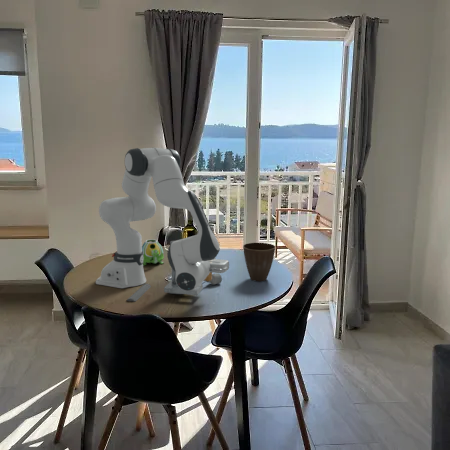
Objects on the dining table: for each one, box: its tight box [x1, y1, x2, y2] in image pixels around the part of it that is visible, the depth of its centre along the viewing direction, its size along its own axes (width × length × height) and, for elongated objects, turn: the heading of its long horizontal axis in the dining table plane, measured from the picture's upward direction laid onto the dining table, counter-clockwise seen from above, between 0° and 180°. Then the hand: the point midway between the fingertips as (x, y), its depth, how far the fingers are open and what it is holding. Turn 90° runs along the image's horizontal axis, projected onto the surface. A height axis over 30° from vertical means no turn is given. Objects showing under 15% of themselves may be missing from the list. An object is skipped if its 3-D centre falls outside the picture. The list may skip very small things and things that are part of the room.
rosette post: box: [163, 240, 204, 296], centre depth 182 cm, size 14×11×22 cm
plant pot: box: [242, 242, 276, 282], centre depth 205 cm, size 15×15×16 cm
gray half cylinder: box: [126, 283, 152, 302], centre depth 185 cm, size 4×20×2 cm, turn 170°
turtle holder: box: [142, 239, 165, 266], centre depth 229 cm, size 12×18×12 cm
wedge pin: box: [203, 273, 213, 282], centre depth 178 cm, size 4×4×14 cm
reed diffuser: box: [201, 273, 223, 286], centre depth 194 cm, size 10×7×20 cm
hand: (207, 259), depth 178 cm, fingers closed on wedge pin, 4 cm apart
